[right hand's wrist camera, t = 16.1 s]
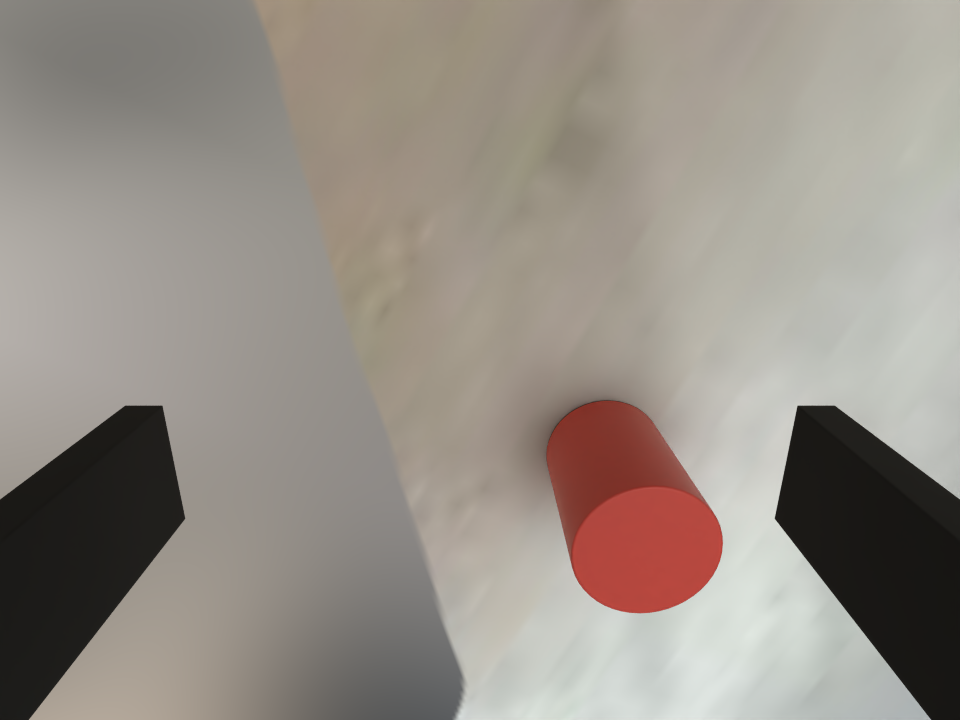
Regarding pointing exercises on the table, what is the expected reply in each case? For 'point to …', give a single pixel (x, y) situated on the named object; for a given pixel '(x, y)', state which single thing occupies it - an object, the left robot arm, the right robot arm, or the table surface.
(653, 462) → the canister
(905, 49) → the table surface
